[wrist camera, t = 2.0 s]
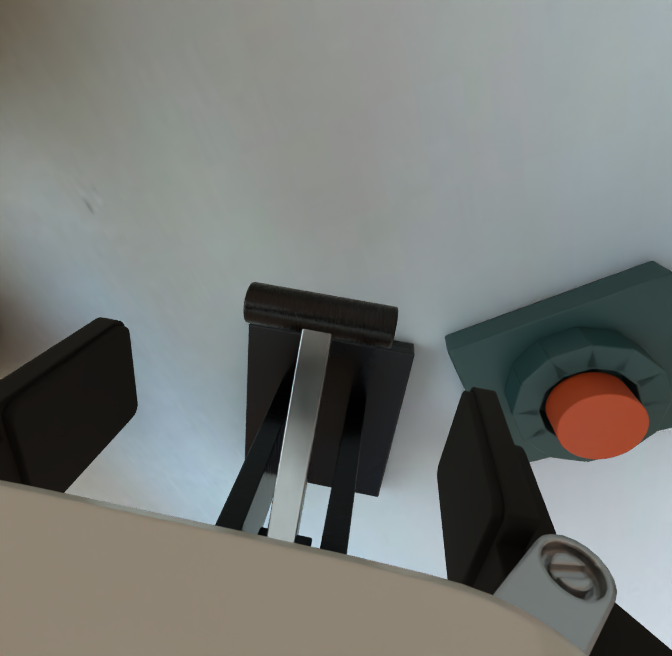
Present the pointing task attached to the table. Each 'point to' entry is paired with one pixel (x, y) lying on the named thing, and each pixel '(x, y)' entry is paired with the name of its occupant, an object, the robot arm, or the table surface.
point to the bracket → (319, 427)
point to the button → (596, 415)
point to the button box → (574, 352)
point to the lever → (309, 379)
